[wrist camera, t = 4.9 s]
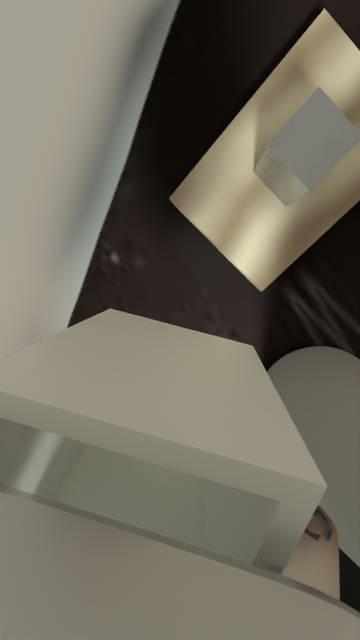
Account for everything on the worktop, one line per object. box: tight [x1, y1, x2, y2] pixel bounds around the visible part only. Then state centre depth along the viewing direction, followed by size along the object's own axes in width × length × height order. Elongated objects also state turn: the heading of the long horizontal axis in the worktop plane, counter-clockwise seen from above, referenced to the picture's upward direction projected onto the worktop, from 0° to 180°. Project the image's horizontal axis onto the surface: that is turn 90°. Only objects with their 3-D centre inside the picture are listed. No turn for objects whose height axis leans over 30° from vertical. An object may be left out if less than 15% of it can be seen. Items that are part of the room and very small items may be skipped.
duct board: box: [169, 8, 360, 291], centre depth 21 cm, size 13×18×2 cm
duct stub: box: [253, 86, 360, 207], centre depth 18 cm, size 4×4×5 cm
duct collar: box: [0, 309, 328, 570], centre depth 9 cm, size 7×10×7 cm
